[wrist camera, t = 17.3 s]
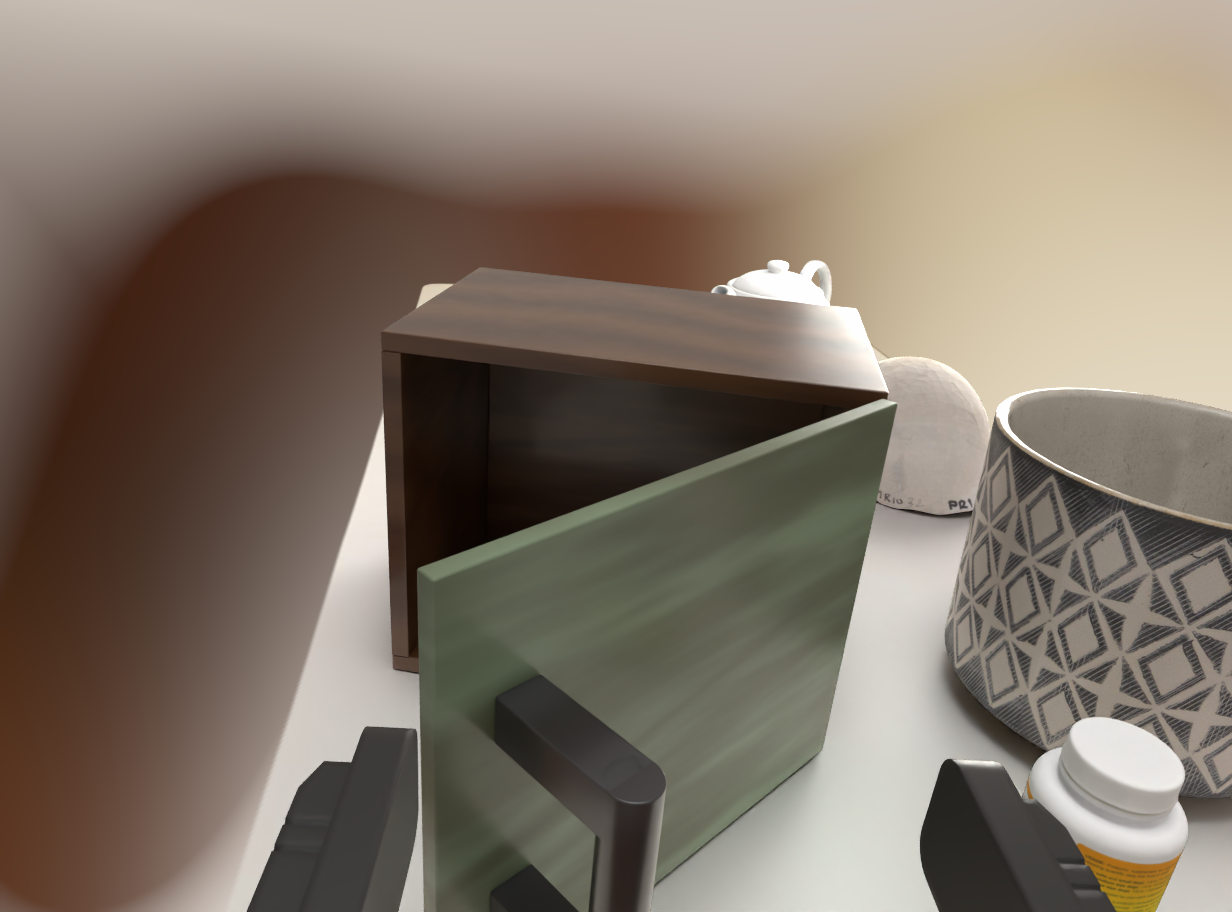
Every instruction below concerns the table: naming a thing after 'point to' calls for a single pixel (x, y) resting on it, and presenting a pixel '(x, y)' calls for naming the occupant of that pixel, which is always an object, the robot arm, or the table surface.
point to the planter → (1103, 574)
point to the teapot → (783, 284)
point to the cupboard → (584, 402)
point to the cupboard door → (637, 671)
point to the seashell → (932, 438)
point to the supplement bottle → (1117, 806)
